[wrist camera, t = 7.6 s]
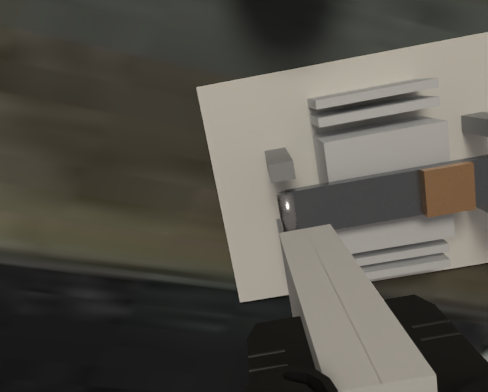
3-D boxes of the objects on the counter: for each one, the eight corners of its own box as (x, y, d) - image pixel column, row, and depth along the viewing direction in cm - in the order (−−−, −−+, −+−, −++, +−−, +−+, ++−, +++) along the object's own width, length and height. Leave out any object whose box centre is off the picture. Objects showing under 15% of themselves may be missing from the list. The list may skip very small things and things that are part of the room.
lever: (282, 233, 29) (284, 241, 27) (275, 190, 28) (276, 196, 26) (494, 197, 28) (508, 204, 26) (492, 152, 27) (507, 156, 26)
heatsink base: (240, 296, 37) (237, 361, 28) (197, 87, 33) (179, 87, 24) (520, 251, 36) (608, 305, 27) (516, 27, 31) (619, 4, 23)
